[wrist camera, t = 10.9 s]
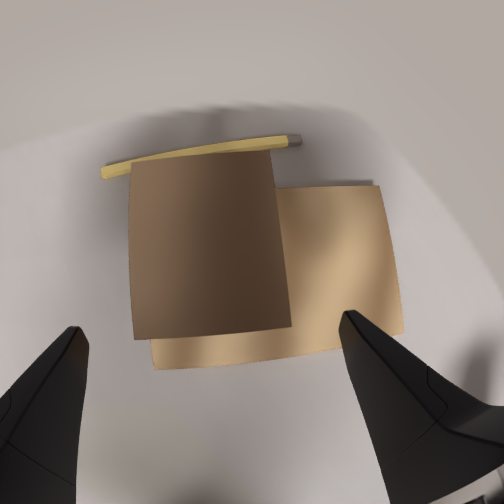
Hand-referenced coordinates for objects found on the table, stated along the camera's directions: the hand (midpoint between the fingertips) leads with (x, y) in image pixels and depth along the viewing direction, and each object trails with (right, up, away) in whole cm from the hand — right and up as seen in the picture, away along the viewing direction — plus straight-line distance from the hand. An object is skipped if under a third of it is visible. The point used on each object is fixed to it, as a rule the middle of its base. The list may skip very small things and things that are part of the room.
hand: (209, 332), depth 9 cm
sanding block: (-1, +1, +9) cm, 9 cm away
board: (+3, +1, +10) cm, 11 cm away
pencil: (-3, +10, +12) cm, 15 cm away
